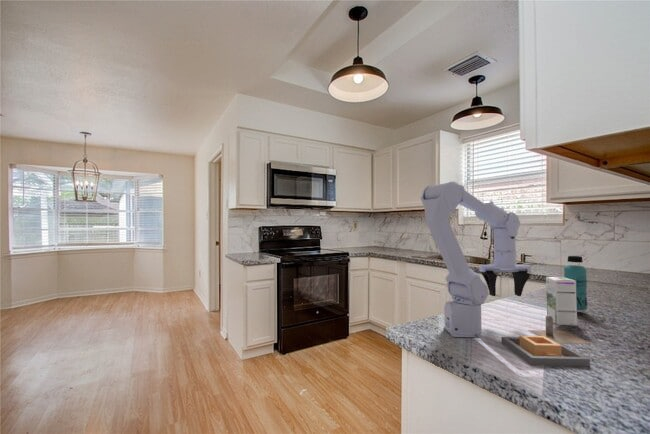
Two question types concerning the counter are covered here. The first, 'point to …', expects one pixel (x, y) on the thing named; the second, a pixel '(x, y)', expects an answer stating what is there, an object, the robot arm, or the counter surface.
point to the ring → (540, 346)
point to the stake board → (558, 334)
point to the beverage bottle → (578, 281)
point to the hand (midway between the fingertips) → (505, 295)
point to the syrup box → (561, 300)
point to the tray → (571, 360)
